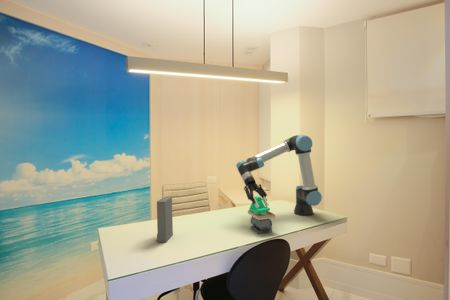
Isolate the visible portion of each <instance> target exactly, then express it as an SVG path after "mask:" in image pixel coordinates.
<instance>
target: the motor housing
mask: <svg viewBox="0 0 450 300" xmlns="http://www.w3.org/2000/svg"><path fill="white" fill-rule="evenodd" d="M247 214H248V215H249V216H250V223H251V224H252V225H250V229H251V230H253V231H254V232H255V233H256V232H257V233H256V234H258V235H262V233H263V234H269V233H272V232H273V229H272V228H273V222H272V220H271V219H276V214H275V213H273V212H271V211H266V213H263V214H260V213H255V212H252V211H250V210H247Z"/></svg>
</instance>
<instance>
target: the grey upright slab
mask: <svg viewBox="0 0 450 300" xmlns="http://www.w3.org/2000/svg"><path fill="white" fill-rule="evenodd" d="M156 220H157V221H156V222H157V224H156V225H157V234H156V243H167V242H168V241H169V240H170V239H171V238H172V236H173V235H174V229H173V224H174V223H173V197H172V196H163V197H162V198H160V199H158V200H156Z"/></svg>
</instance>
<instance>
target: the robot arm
mask: <svg viewBox="0 0 450 300" xmlns="http://www.w3.org/2000/svg"><path fill="white" fill-rule="evenodd" d="M312 147H313V141H312V139H311V137H310V136H309V135H305V134H300V135H298V134H297V135H293V136H292V137H289V138H288V139H285V140H283V141H282V143H280V144H278V145H275V146H273V147H272V148H270V149H267V150H264V151H262V152H260V153H258V154H256V155H254V156H252V157H248V158H246V160H239V161H238V162H237V163H236V168H237V171H238V173H239V174H240V177H241V179H242V181H243V183H244V185H245V186H244V187H243V190H244V191H245V195H246V197H247V200H248V201H251V203H252V202H253V204H254V205H255V206H256V208H258V207H259V205H258V203H257V201H256V199H255V197H254V192H255V193H257V194H258V196H259V197H261V198H262V202H263V204H264V205H265V207H268V206H269V202H268V199H267V196H268V194H267V193H266V191H265V190H264V188H263V187H262V184H259V183H257V182H256V180H255V178H254V176H253V174H252V172H254V171H256V170H259V169H262V168H263V167H265V162H267V161H269V160H271V159H274V158H276V157H278V156H281V155H282V154H284V153H289V152H290V153H291V152H292V151H295V155H296V156H297V158H298V162H299V168H300V169H299V170H300V173H301V179H302V185H296V187H295V207H294V209H293V213H294V214H295V215H296V216H301V217H302V216H306V217H310V216H313V215H314V210H313V207H315V206H318V205H319V204H320V203H321V202H322V198H323V197H322V193H321V192H320V191H319V187H318V185H316V183H315V177H314V172H313V166H312V160H311V153H312ZM312 206H313V207H312Z"/></svg>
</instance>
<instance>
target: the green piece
mask: <svg viewBox="0 0 450 300" xmlns="http://www.w3.org/2000/svg"><path fill="white" fill-rule="evenodd" d="M254 198H255V199H256V201H257V203H258V205H259V207H258V208H256V206H255V205H254V204H253V202H252V201H251V203H250V206H249V210H250V211H252V212H255V213H260V214H263V213H266V211H269V212H271V210H270V209H271V208H270V207H268V206H267V207H266V206H265V204H264V202H263V200H262V197H261V196H260V195H256V196H255V197H254Z"/></svg>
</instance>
